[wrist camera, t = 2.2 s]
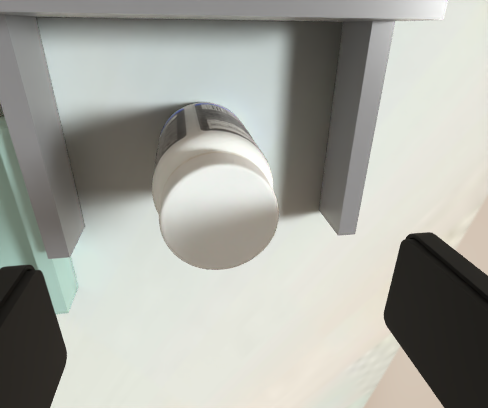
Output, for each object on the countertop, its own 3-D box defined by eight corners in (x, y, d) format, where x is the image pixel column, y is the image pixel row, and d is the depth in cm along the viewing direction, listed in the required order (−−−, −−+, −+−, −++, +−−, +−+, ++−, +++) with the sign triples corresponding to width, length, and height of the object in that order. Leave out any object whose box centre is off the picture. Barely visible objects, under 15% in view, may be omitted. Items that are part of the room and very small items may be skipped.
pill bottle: (182, 197, 20) (183, 298, 12) (143, 121, 17) (116, 190, 10) (259, 166, 20) (305, 250, 12) (229, 86, 17) (265, 129, 10)
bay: (3, -12, 14) (-103, -35, 9) (365, -2, 16) (451, -15, 11) (66, 227, 19) (23, 302, 14) (333, 209, 22) (382, 267, 16)
